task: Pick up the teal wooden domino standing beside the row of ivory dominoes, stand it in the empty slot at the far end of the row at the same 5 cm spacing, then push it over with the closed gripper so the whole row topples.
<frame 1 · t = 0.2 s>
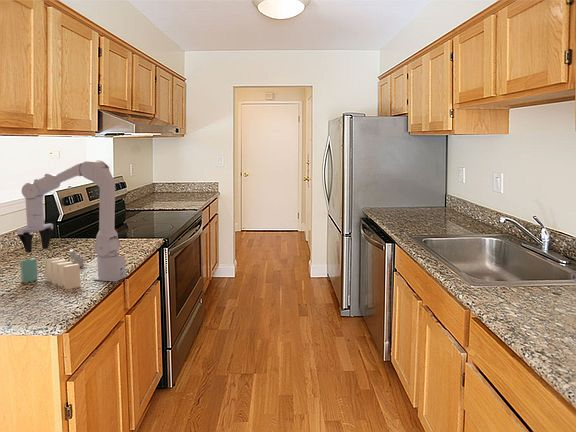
hand: (37, 250, 202), 10 cm above the worktop, fingers open, 7 cm apart
domino 2: (53, 280, 198), on the worktop
domino 5: (72, 287, 188), on the worktop
domino 4: (65, 284, 191), on the worktop
domino 3: (59, 282, 195), on the worktop
end tile: (29, 280, 196), on the worktop
grey angular flat piece: (76, 268, 217), on the worktop
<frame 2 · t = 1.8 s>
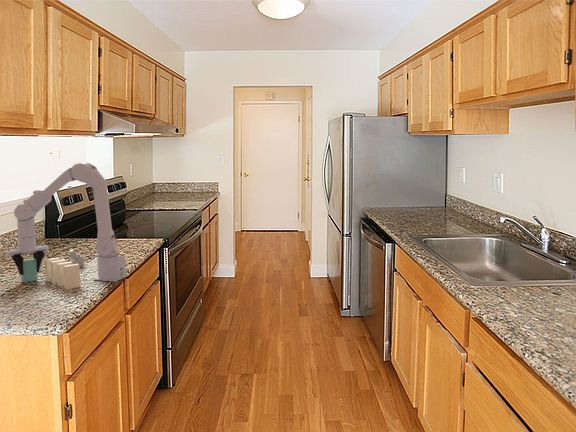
hand: (29, 273, 196), 3 cm above the worktop, fingers closed on end tile, 5 cm apart
end tile: (29, 280, 196), on the worktop, touching gripper
everything else where it was.
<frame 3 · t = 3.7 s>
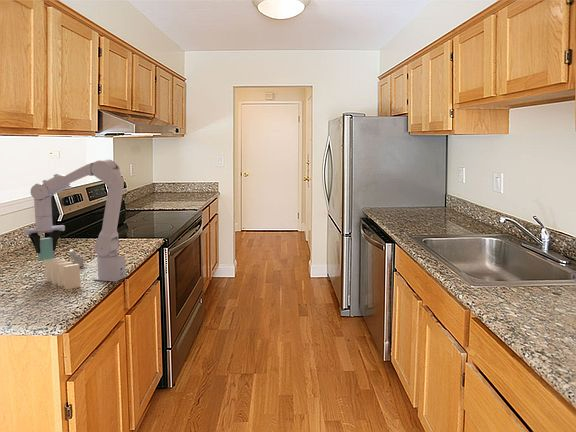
hand: (45, 251, 200), 10 cm above the worktop, fingers closed on end tile, 5 cm apart
end tile: (46, 259, 200), point 7 cm above the worktop, touching gripper
everything else where it was.
when the fingers open (3 cm above the worktop, at t = 5.8 s): end tile stays where it is, on the worktop.
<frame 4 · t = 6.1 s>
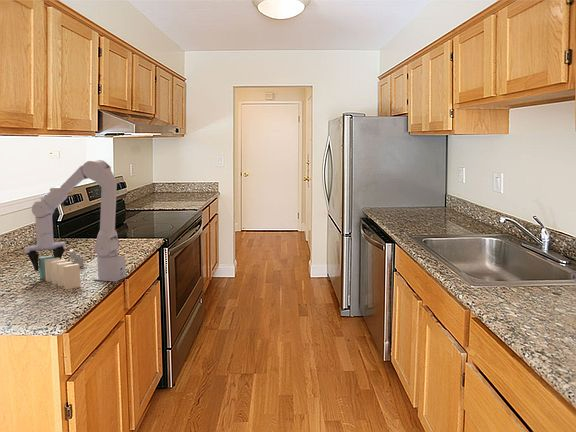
hand: (46, 268, 201), 3 cm above the worktop, fingers open, 7 cm apart
end tile: (47, 277, 201), on the worktop
everything else where it was.
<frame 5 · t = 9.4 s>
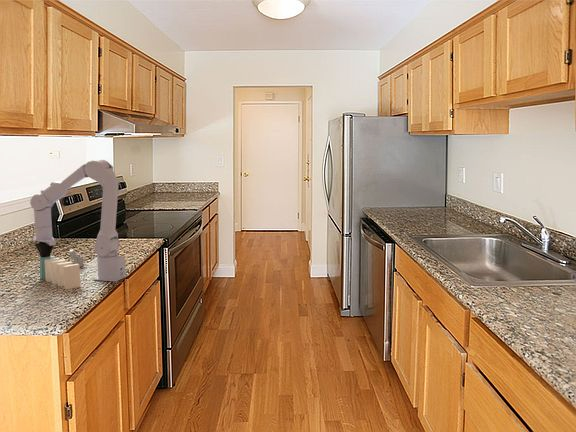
hand: (45, 261, 201), 6 cm above the worktop, fingers closed
end tile: (47, 277, 201), on the worktop, tilted 9°
everything else where it was.
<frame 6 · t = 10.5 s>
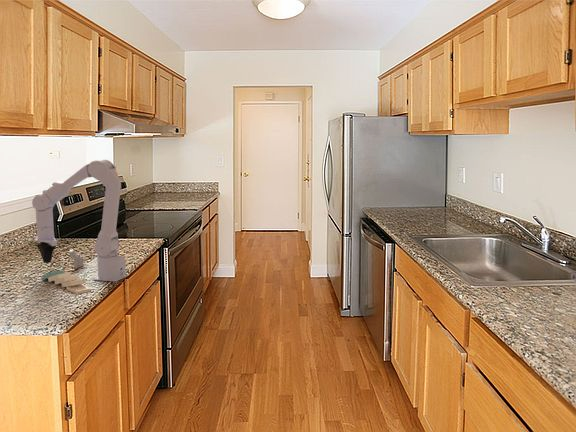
hand: (47, 262, 200), 6 cm above the worktop, fingers closed
domino 2: (55, 278, 197), point 1 cm above the worktop, tilted 72°, touching domino 3, end tile
domino 5: (73, 287, 187), on the worktop, tilted 90°
domino 4: (68, 283, 190), point 1 cm above the worktop, tilted 75°
domino 3: (61, 281, 194), point 1 cm above the worktop, tilted 73°, touching domino 2
end tile: (48, 276, 200), point 1 cm above the worktop, tilted 72°, touching domino 2
everything else where it was.
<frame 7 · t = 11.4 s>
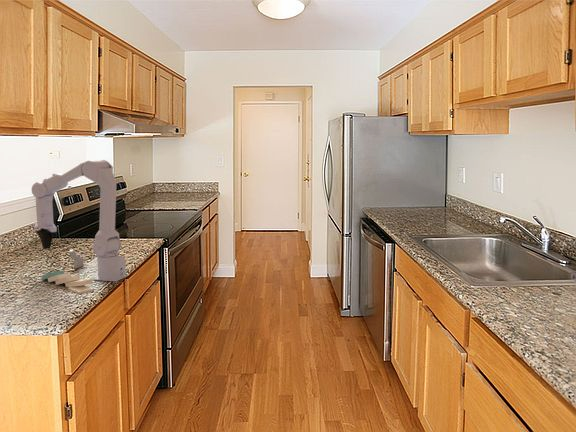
hand: (46, 248, 206), 10 cm above the worktop, fingers closed
domino 5: (74, 288, 187), on the worktop, tilted 90°, touching domino 4
domino 4: (71, 283, 189), point 1 cm above the worktop, tilted 79°, touching domino 5
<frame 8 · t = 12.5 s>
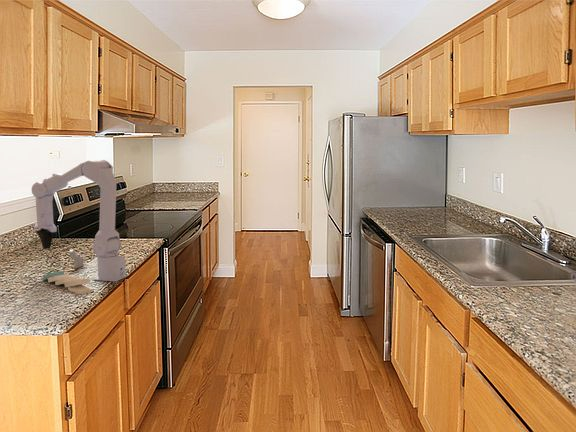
hand: (46, 248, 206), 10 cm above the worktop, fingers closed
domino 4: (71, 284, 188), point 1 cm above the worktop, tilted 73°, touching domino 3, domino 5
domino 3: (62, 282, 192), point 1 cm above the worktop, tilted 72°, touching domino 2, domino 4
at the end: domino 5 tilted 90°; domino 3 tilted 72°; end tile 2.0 cm from the target spot, point 0.8 cm above the worktop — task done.
